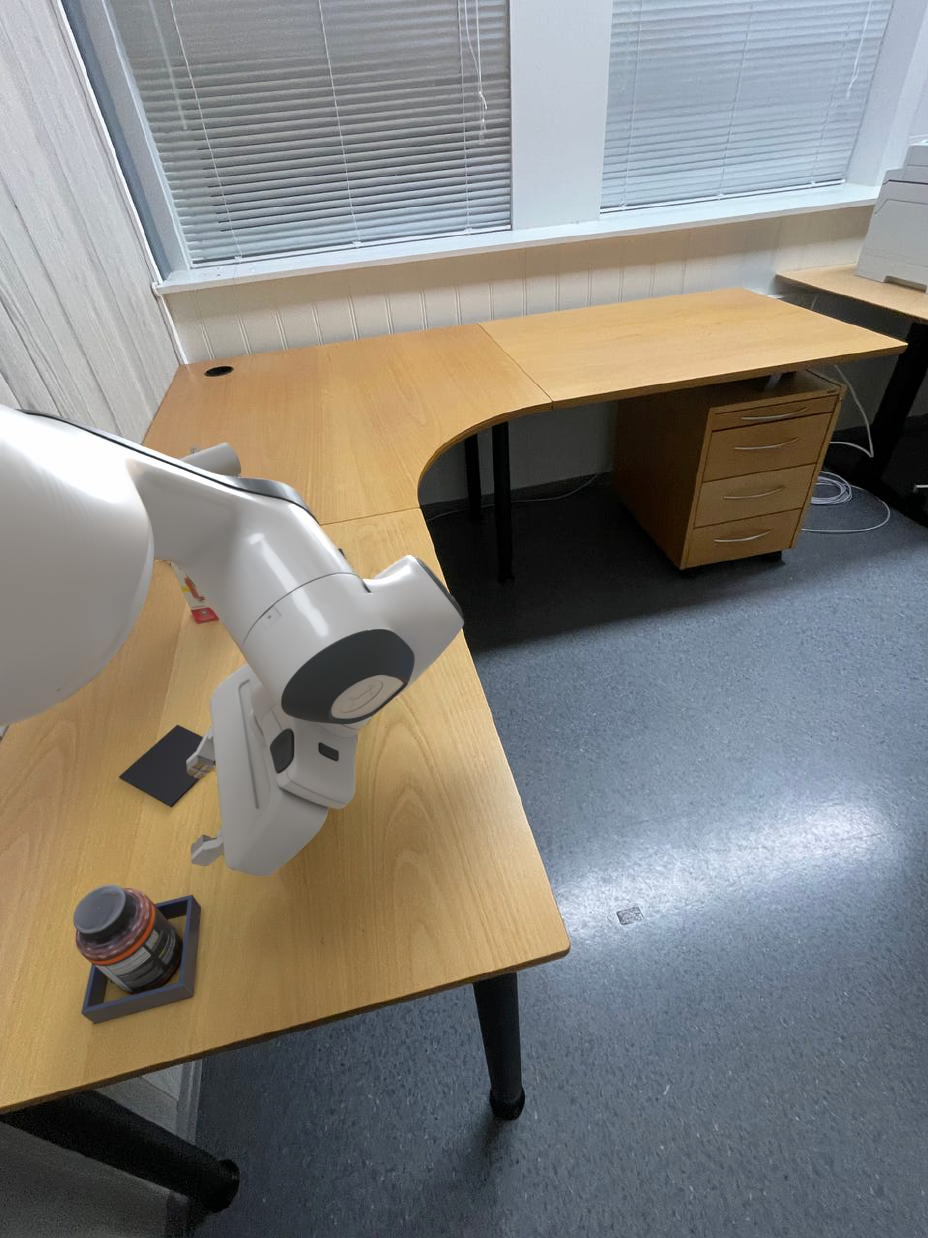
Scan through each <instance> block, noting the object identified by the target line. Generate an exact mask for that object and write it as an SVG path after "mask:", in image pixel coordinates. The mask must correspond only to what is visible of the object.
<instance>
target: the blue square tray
mask: <svg viewBox="0 0 928 1238" xmlns="http://www.w3.org/2000/svg"><path fill="white" fill-rule="evenodd" d="M153 904H154V905H155V906H156V907H157V908H158V910H159V911H160V912H161V913H162V914H163V916H164V917H165V918H166V919H167V920H169V919H173V918H176V917H179V916H184V915H185V925H184V934H183V942H182V954H181V960H180V961H181V962H180V969H179V970H180V971H179V981H178V982H176V983H173V984H169V985H165V986H162V987H161V986H160V987H157V988H155V989H153V990H150V991H146V992H143V993H139V994H131V995H128V996H124V997H120V998H117V999H113V1000H110V1001H106V1002H104V998H105V993H106V987H107V982H108V977H107V976H105V975H104V974H103V973H102V972H100V970H98V969H97V968H96V967H95V966H94V965H92V964H91V966H90V970H89V974H88V979H87V984H86V989H85V993H84V999H83V1003H82V1009H81V1011H80V1012H81V1015H82V1016H83V1017H85V1018H86V1019H88V1020H89V1021H90V1022H91V1023H93V1025H96V1024H99V1023H102V1022H106V1021H109V1020H113V1019H117V1018H120V1017H124V1016H128V1015H132V1014H134V1013H138V1012H143V1011H146V1010H150V1009H153V1008H157V1007H160V1006H164V1005H168V1004H171V1003H175V1002H180V1001H182V1000H186V999H190V998H193V997H194V989H195V977H196V966H197V955H198V944H199V932H200V921H201V910H202V907H201V905H200V902H198V901H197V899H196V898H195V896H194V895H193V894H189V895H185V896H182V897H176V898H173V899H169V900H165V901H161V902H157V903H153Z"/></svg>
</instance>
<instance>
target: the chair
mask: <svg viewBox="0 0 928 1238" xmlns="http://www.w3.org/2000/svg"><path fill="white" fill-rule="evenodd" d="M189 449H190V455H187V456H184V457H180V458H177V460H179V461H182V462H184V463H187V464H190V465H192V466H195V467H197V468H200V469H202V470H205V471H208V472H211V473H215V474H219V475H224V476H231V477H242V476H241V473H242V466H241V461H240V459H239V457H238V456H239V455H238V454H237V452H236V450H235V449H234V448H233V447H232V446H231V444H229V442H221V443H219V444H217V445H214V446H211V447H208V448H206V449H205V448H204V449H203V450H202V449H200V448H199V447H197V446H196V445H191V446H190V447H189ZM195 451H196V452H195Z"/></svg>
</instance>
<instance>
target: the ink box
mask: <svg viewBox="0 0 928 1238" xmlns="http://www.w3.org/2000/svg"><path fill="white" fill-rule="evenodd" d="M170 565H171V568H172V570H173V572H174V575H175V577H176V580H177V582H178V585H179V588H180V589H181V591H182V594H183V596H184V598H185V600H186V603H187V606H188V608H189V610H190V613H191V615H192V617H193V620H194V622H195V624H202V623H207V622H213V621H217V620H219V618H218V617H217V615H216V614H215V613H214V611H213V610H212V608H211V607H210V605H209V604H208V602H207V601H206V599H205V598H204V597H203V595H202V594H201V593H200V591H199V590H198V589H197V588H196V587H195V586H194V585H193V583H192V582H191V581H190V579H189V578H188V577H187V576H186V574H185V573H184V572H183V571H182V570H181V569H180V568H179V567H178V566H176V565H175V564H174V563H172V562H170Z"/></svg>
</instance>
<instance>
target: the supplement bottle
mask: <svg viewBox="0 0 928 1238" xmlns="http://www.w3.org/2000/svg"><path fill="white" fill-rule="evenodd" d="M154 904H155V903H153V901H152V900H151V899H150V898H149V896H147V894H145V893H144V892H143V891H141V890H139V889H136V888H131V887H121V886H119V885H117V884H104V885H101V886H98V887H96V888H94V889H92V890H91V891H90V892H88V893H87V894H85V895H84V897H83V898H82V899H81V900H80V901H79V902H78V904H77V906H76V907H75V910H74V912H73V919H72V922H73V926H74V928H75V930H76V931H75V944H76V945H75V946H76V949H77V950H78V952H79V953H80V954H81V955H82V956H83V957H84V958H85V959H86V960H87V961H88V962H89V963H91V965H94V966H95V967H96V968H97V969H98V970H100V972H102V973H103V974H104V975H105V976H107V979H109V981H110V984H112V983H113V984H115V985H116V986H117V988H119V989H121V990H123V991H124V992H125V993H128V994H131V995H135V994H139V993H143V992H146V991H150V990H154V989H157V988H160V987H161V986H162V985H163V984H164V983H165V982H166V981H167V980H169V978H170V977H171V976H172V975H173V973H174V972H175V971H176V969H177V967H178V966H179V963H180V961H181V959H182V951H183V942H182V941H183V940H182V939H181V938H182V937H181V936H180V935H179V932H178V931H177V930H176V929H175V927H174V926H173V925H172V924H171V922H170V921H169V919H166V918H165V917H164V916H163V914H162V913H161V912H160V911H159V910H158V908H157V907H156V906H155V905H154Z"/></svg>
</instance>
